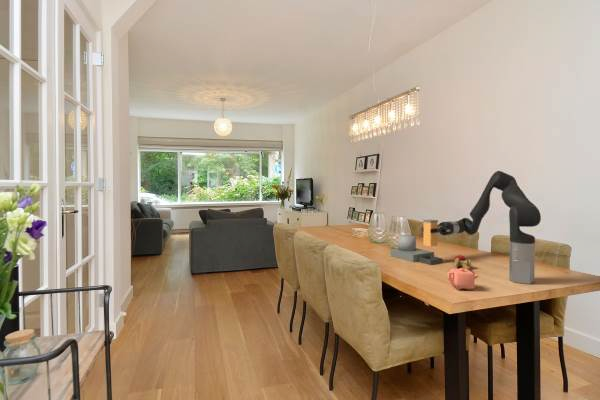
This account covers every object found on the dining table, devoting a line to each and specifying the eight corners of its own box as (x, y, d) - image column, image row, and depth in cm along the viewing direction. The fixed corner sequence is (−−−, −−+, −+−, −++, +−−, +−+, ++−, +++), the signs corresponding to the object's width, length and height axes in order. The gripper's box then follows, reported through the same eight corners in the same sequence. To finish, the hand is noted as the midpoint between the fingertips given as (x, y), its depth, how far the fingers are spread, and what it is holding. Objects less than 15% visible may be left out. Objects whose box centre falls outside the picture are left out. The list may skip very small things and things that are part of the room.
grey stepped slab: (410, 253, 208) (410, 234, 207) (447, 262, 183) (447, 240, 183) (390, 256, 201) (390, 236, 200) (425, 265, 176) (426, 243, 176)
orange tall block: (430, 244, 187) (430, 219, 187) (437, 245, 182) (437, 220, 182) (422, 245, 185) (423, 219, 184) (430, 246, 180) (430, 220, 179)
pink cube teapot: (482, 291, 134) (482, 271, 134) (451, 290, 135) (451, 270, 135) (474, 285, 142) (474, 266, 142) (445, 285, 143) (445, 266, 143)
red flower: (479, 276, 160) (466, 262, 177) (477, 264, 159) (465, 251, 176) (461, 279, 161) (451, 265, 178) (460, 266, 160) (449, 253, 178)
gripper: (438, 220, 196) (416, 222, 188) (459, 222, 183) (437, 224, 175) (438, 233, 196) (416, 235, 189) (459, 236, 183) (437, 239, 176)
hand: (426, 230), depth 182 cm, fingers closed on orange tall block, 5 cm apart
